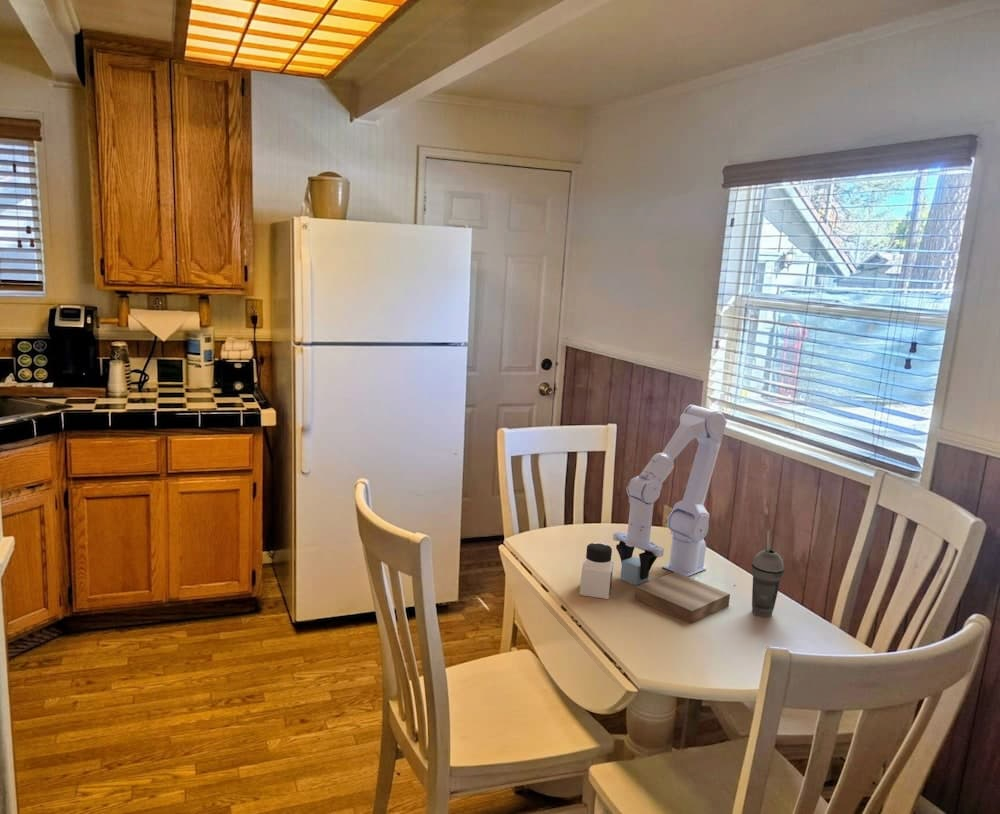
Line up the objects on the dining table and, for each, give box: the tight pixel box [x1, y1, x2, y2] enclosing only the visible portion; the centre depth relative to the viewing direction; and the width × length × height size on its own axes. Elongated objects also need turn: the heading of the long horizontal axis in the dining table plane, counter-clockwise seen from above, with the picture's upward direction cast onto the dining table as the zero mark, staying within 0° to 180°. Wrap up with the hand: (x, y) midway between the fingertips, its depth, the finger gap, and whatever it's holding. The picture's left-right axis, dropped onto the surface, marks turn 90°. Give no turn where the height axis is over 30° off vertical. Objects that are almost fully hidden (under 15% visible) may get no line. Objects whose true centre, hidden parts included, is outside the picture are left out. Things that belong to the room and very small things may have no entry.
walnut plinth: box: [634, 571, 731, 624], centre depth 183 cm, size 16×16×3 cm
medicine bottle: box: [579, 541, 614, 600], centre depth 185 cm, size 7×7×12 cm
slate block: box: [620, 556, 650, 586], centre depth 194 cm, size 5×5×5 cm
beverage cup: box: [751, 530, 785, 619], centre depth 178 cm, size 7×7×20 cm
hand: (634, 574), depth 194 cm, fingers closed on slate block, 5 cm apart
